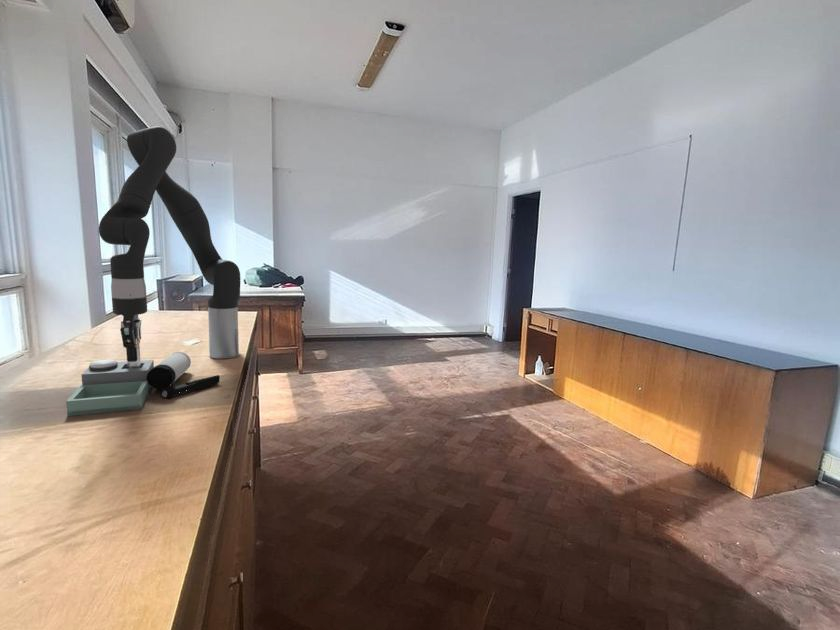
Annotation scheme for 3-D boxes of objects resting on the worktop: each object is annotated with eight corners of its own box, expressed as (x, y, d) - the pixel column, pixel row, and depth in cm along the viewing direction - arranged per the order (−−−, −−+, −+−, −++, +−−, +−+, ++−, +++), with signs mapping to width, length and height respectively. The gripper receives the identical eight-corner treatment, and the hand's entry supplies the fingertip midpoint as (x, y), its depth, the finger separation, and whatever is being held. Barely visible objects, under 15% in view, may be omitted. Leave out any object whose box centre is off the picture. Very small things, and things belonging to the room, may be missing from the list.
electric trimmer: (223, 386, 121) (223, 375, 121) (166, 401, 108) (166, 389, 108) (215, 383, 123) (215, 373, 123) (159, 398, 110) (158, 386, 110)
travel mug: (196, 363, 131) (179, 380, 112) (177, 376, 130) (156, 395, 111) (182, 347, 129) (162, 361, 110) (163, 360, 128) (139, 377, 109)
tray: (148, 393, 112) (147, 380, 111) (140, 409, 102) (140, 395, 102) (82, 398, 106) (81, 385, 106) (67, 416, 96) (66, 401, 96)
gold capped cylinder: (142, 380, 118) (140, 340, 116) (140, 384, 115) (138, 343, 113) (129, 381, 116) (126, 341, 114) (127, 385, 114) (124, 344, 112)
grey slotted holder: (154, 380, 122) (153, 355, 121) (148, 392, 113) (147, 365, 112) (94, 384, 116) (92, 358, 115) (83, 397, 107) (80, 369, 106)
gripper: (141, 299, 107) (146, 365, 110) (150, 291, 119) (153, 351, 122) (105, 299, 104) (110, 368, 107) (117, 291, 116) (122, 353, 119)
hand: (133, 359), depth 115 cm, fingers closed on gold capped cylinder, 3 cm apart
